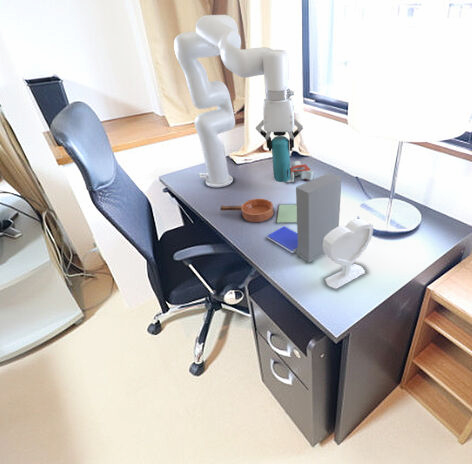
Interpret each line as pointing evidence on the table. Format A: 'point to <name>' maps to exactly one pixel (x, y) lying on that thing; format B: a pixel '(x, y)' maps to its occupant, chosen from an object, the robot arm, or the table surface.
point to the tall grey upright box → (317, 213)
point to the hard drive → (285, 239)
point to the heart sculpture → (347, 250)
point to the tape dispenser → (301, 171)
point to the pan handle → (230, 207)
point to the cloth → (287, 214)
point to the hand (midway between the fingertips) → (280, 149)
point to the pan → (257, 210)
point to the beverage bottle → (281, 157)
